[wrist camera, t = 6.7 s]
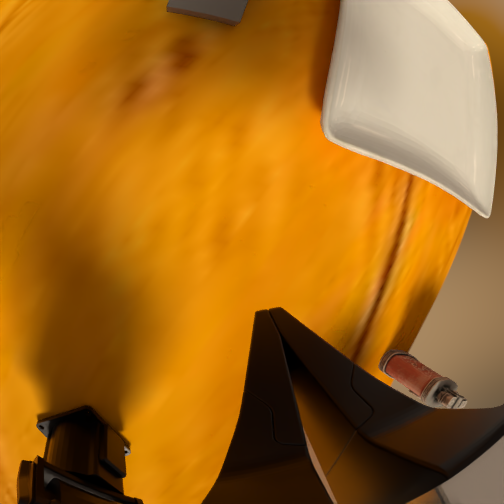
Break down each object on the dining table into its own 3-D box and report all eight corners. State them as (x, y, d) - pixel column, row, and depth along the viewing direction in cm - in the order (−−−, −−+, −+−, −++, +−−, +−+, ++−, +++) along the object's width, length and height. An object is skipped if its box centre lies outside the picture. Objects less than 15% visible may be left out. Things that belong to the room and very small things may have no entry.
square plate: (469, 47, 26) (488, 43, 23) (468, 217, 30) (492, 221, 27) (326, -63, 16) (346, -80, 12) (294, 143, 20) (324, 136, 17)
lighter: (373, 371, 28) (437, 419, 19) (389, 344, 28) (458, 388, 19) (405, 379, 31) (460, 418, 22) (419, 357, 31) (476, 392, 22)
